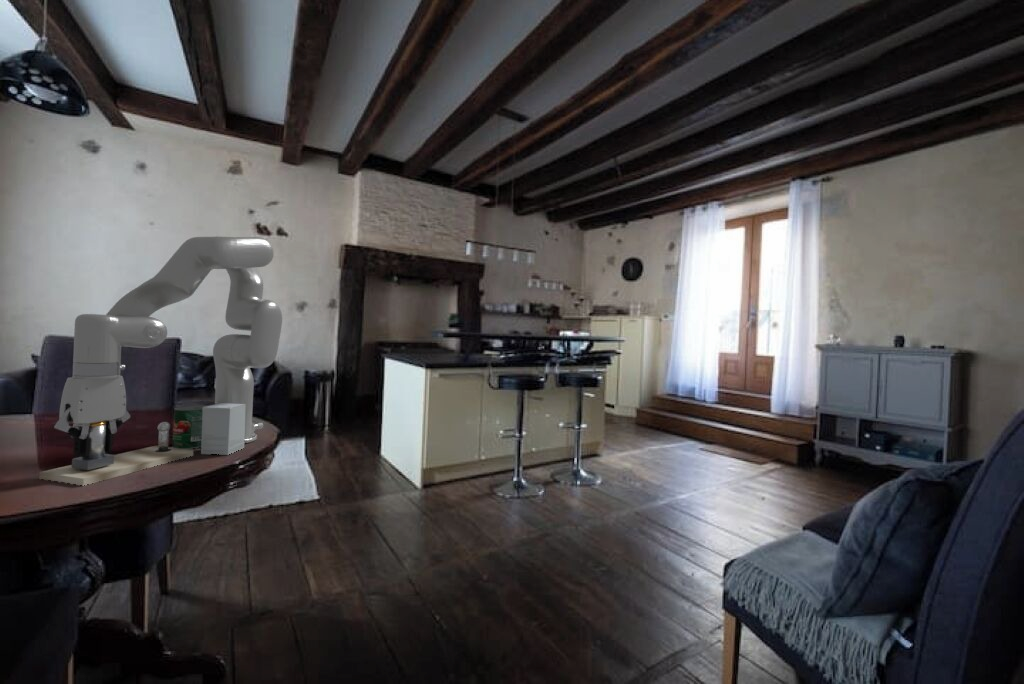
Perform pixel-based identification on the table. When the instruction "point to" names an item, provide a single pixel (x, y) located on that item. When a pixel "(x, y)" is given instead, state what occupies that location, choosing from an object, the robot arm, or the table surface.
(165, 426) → the fixed leg
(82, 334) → the robot arm
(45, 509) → the table surface
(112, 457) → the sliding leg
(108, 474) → the hole plate
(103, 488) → the table surface
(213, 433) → the supplement box
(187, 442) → the canned tomato
